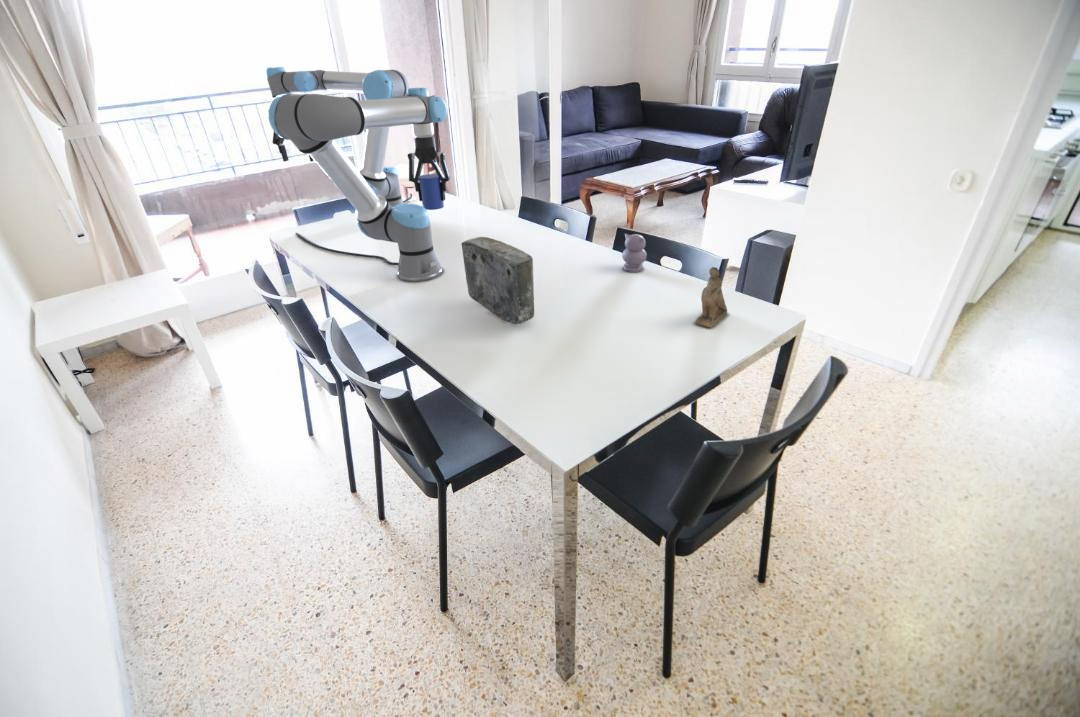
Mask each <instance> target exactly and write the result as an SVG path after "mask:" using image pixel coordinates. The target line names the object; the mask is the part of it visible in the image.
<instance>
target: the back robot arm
mask: <svg viewBox="0 0 1080 717" xmlns="http://www.w3.org/2000/svg"><path fill="white" fill-rule="evenodd" d="M264 72H265V76H266V81H267V84H268V87H269V90H270V93H271V97H272V100H273V99H274V98H275V97H276V96H278V95H282V94H287V93H302V94H307V93H312V92H315V91H316V92H318V91H327V92H342V93H344V92H345V93H356V94H357V93H359V94H363V95H364V98H365V100H375V99H385V98H388V97H391V96H407V89H408V88H410V86H409V82H408V79H407V78H406V76H405V75H404V73H402V72H401V71H400V70H397V69H377V70H373V71H370V72H355V71H353V72H351V71H333V70H332V71H331V70H323V69H316V70H298V71H286V70H285V67H284V66H268V67H265V70H264ZM389 131H390V127H384V128H376V129H368V130H366V131H365V141H364V148H363V149H364V150H363V156H362V157H363V158H362V165H361V166H360V167H358V168H357V170H358V171H359V172H360V173H361V175H362V176H363V177H364V179H365V180H366V181H367V183H368V184H369V185H370V186H371V188H372V189H373V190H374V192H375V193H376V194H377V195H382V196H384V197H385V199H386V200H387V201H388V203H389V204H390V205H391V206H392V207H394V206H396V205H399V204H405V203H406V202H408V201H410V200H411V199H412V198H413V194H412V193H410V194H409V195H410V196H409V197H408V198H407V199H405V200H403V199H402V198H403V197H402V193H401V187H400V181H399V174H398V171H397V169H396V168H395V167H393V166H385V160H386V153H387V146H388V138H389ZM284 141H285V139H283V138H282V137H280V136H278V135H277V134H276V133H275V132H274V131H273V135H272V144H273V145H276V146H277V149H278V152H279V154H281V158H282V161H283V162H288V161H290V159H289V156H288V152H287V149H286V146H285V144H284ZM308 158H309V161H310V162H315V160H314V159H313V158H312V157H311V156H310V155H308Z"/></svg>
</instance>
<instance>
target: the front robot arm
mask: <svg viewBox="0 0 1080 717" xmlns="http://www.w3.org/2000/svg"><path fill="white" fill-rule="evenodd" d="M447 107H448V106H447V104H446V101H445V100H444V99H443V98H442V97H440V96H436V95H431V96H430V94H429V89H428V88H427V87H409V88H408V89H407V96H391V97H388V98H385V99H375V100H366V99H361V100H358V99H356V98H354V97H352V96H335V95H327V94H319V93H294V92H292V93H287V94H282V95H278V96H276V97H275V98H274V99H273V98H272V100H271V101H270V103H269V106H268V111H267V112H268V118H267V119H268V122H269V125H270V127H271V129H272V130H273V133H274V132H275V133H276V134H277V135H278V136H280V137H282V138H283V139H284V140H286V141H290V142H291V143H292V144H293V145H294V146H295V147H296V148H297V150H298V151H299V152H300V153H301V154H302V155H308V156H309V155H310V156H311V157H312V158H313V159H314V160H315V161H314V162H315V163H316V164H317V165H318V166H319V168H320V169H321V170H322V171H323V172H324V173H325V175H326V176H327V177H328V178H329V179H330V181H331V182H332V183H333V184H334V185H335V187H336V188H337V189H338V190H339V191H340V192H341V194H342V195H343V196H344V197H345V198H346V200H347V201H348V202H349V203H350V205H351V206H352V207H353V208H354V209H355V217H356V220H357V226H358V228H359V230H360V232H361V233H362V234H363V235H365V236H366V237H367V238H371V239H374V240H376V241H383V242H384V241H385V242H388V243H389V242H391V243H396V244H397V247H398V251H399V259H398V262H395V261H394V262H393V261H389V260H388V259H387V258H386V257H384V256H380V255H376V254H375V255H374V254H364V253H355V252H350V251H349V252H348V251H343V250H337V249H332V248H328V247H324V246H321V245H319V244H317V243H315V242H313V241H311V240H309V239H308V238H306V237H305V236H303V235H302V234H300V233H298V232H295V235H296V236H298V237H299V238H300V239H302V240H304V242H307V243H308V244H309V245H311V246H314V247H315V248H318V249H320V250H324V251H327V252H331V253H336V254H340V255H347V256H354V257H361V258H370V259H379V260H382V261H384V262H385V263H386V264H388V265H391V266H397V276H398V278H399V279H400V280H402V281H406V282H413V283H414V282H425V281H429V280H432V279H435V278H438V277H439V276H440V275H441V274H442V273H443V268H442V264H441V263H440V260H439V259H438V256H437V254H436V252H435V250H434V243H433V235H432V228H431V221H430V217H429V212H428V210H426V209H425V208H424V207H423V205H420V204H416V203H404V204H399V205H396V206H394V207H392V206H391V205H390V204H389V203H388V201H387V200H386V199H385V197H384V196H382V195H377V194H376V193H375V192H374V190H373V189H372V188H371V186H370V185H369V184H368V183H367V181H366V180H365V179H364V177H363V176H362V175H361V173H360V172H359V171H358V168H357V167H356V166H355V164H354V163H353V162H352V160H351V159H350V158H349V156H348V155H347V154H346V152H345V151H344V149H343V148H342V147H341V146H340V145H339V143H338V142H337V140H338V139H342V138H347V137H352V136H360V135H361V134H362V133H363V132H364V131H367V130H368V129H376V128H384V127H389V128H391V127H400V126H407V125H411V130H412V136H413V145H414V152H409V153H408V154H407V158H408V181H409V182H411V183H413V184H414V189H415V192H416V193H417V194H418V200H419V202H422V197H421V190H420V184H419V176H421V174H422V170H423V166H424V165H426V164H428V165H429V164H431V167H433V169H434V171H435V174H437V175H438V176H439V178H440V180H441V183H440V190H441V198H442V201H443V202H444V201H445V200H446V192H447V190H448V188H447V182H449V181H450V180H451V175H450V170H449V168H448V165H447V164H448V163H447V161H446V152H445V151H443V152H440V151H438V149H437V145H436V138H435V136H434V135H435V130H434V124H435V123H442V122H444V121H445V120H446V118H447V116H448V108H447ZM437 157H438V159H440V165H441V167H442V170H441V167H440V166H439V164H438V161H437V159H436V158H437ZM415 158H417V160H418V163H417V167H416V171H415Z"/></svg>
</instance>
